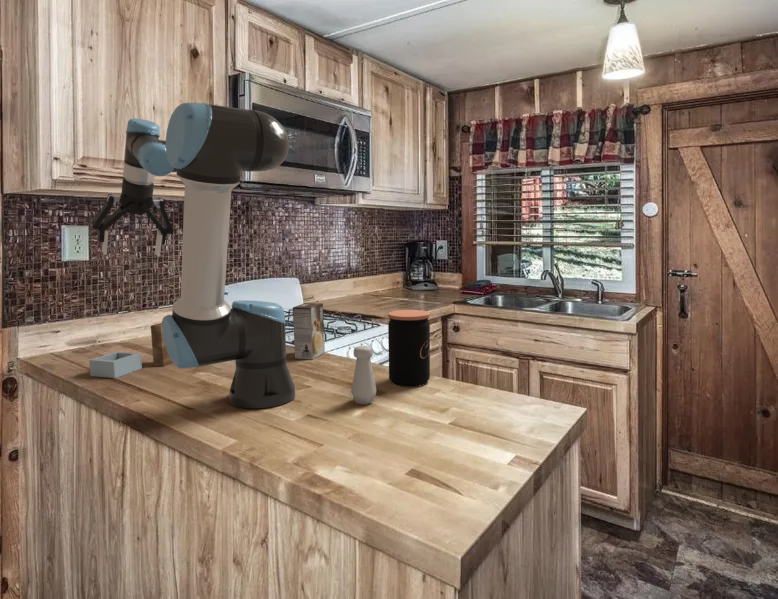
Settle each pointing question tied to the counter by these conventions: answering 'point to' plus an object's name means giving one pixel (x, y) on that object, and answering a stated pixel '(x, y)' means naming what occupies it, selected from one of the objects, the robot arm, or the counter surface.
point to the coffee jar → (409, 347)
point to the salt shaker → (363, 376)
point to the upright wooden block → (159, 346)
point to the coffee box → (308, 330)
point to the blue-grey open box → (115, 364)
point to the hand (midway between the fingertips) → (131, 253)
